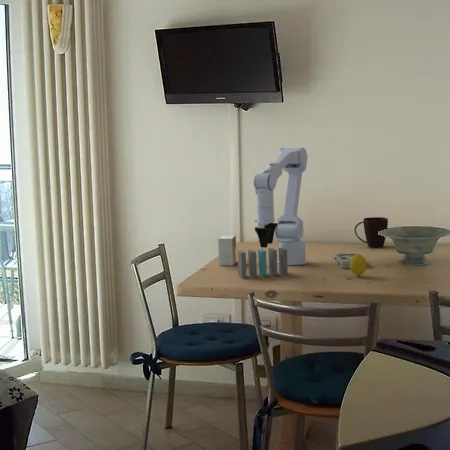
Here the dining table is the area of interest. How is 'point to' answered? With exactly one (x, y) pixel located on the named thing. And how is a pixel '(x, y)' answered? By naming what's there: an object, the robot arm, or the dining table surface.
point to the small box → (227, 250)
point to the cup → (374, 231)
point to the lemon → (358, 265)
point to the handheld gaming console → (343, 259)
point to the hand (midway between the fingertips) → (266, 245)
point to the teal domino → (262, 262)
